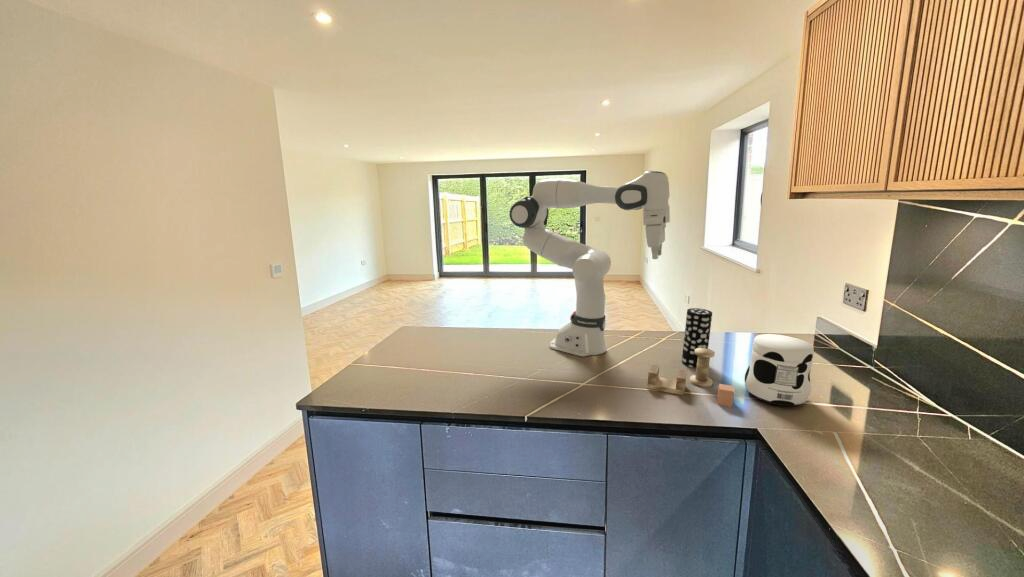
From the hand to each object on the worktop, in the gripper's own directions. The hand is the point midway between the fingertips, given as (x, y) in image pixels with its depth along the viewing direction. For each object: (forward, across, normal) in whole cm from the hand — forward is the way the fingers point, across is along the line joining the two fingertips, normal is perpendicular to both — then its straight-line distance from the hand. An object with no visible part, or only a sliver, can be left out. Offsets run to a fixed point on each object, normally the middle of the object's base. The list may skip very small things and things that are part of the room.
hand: (657, 257), depth 152 cm
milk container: (+43, +14, +36) cm, 58 cm away
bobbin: (+40, +13, +15) cm, 45 cm away
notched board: (+40, +22, +5) cm, 45 cm away
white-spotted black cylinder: (+40, -3, +12) cm, 42 cm away
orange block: (+41, +25, +22) cm, 53 cm away
